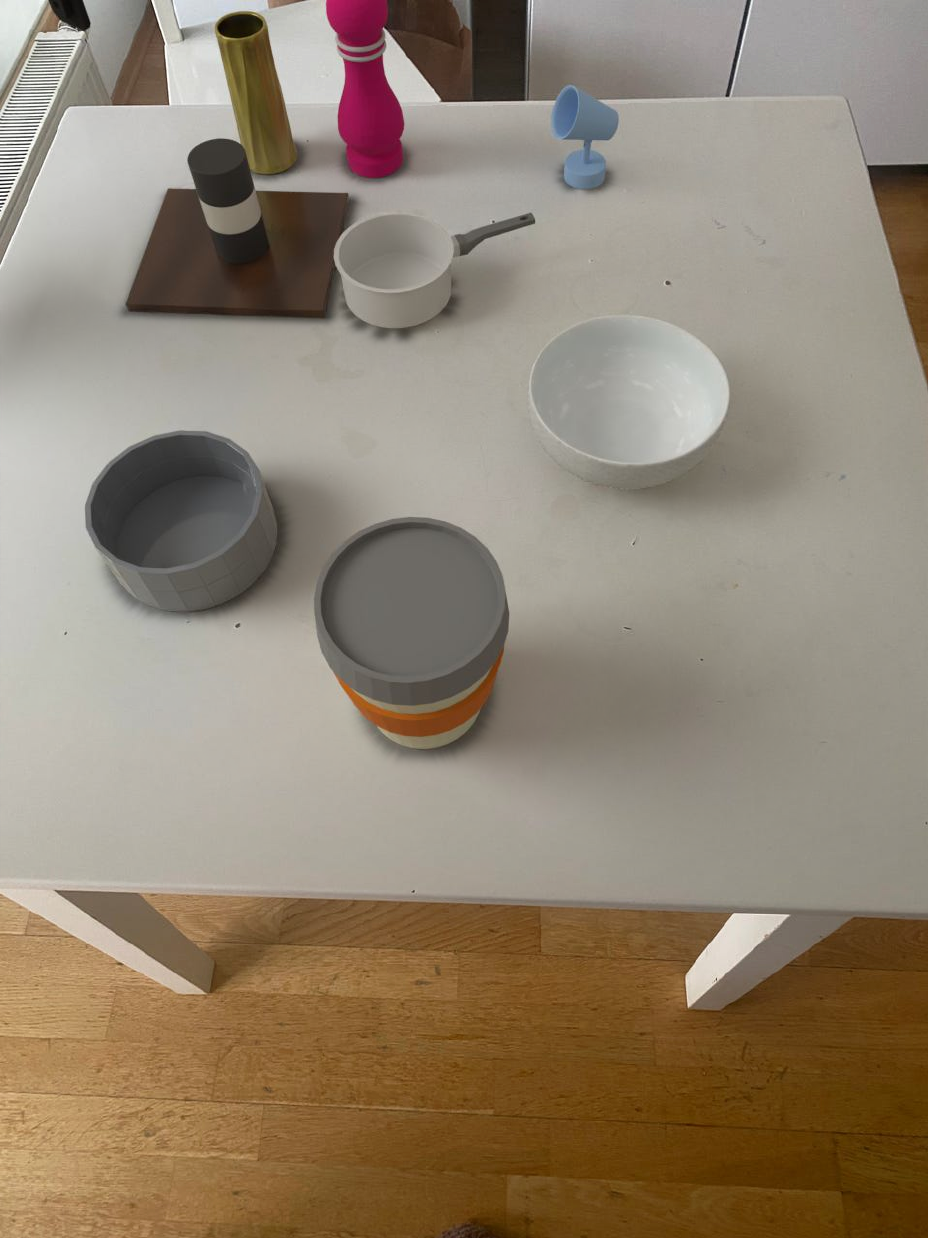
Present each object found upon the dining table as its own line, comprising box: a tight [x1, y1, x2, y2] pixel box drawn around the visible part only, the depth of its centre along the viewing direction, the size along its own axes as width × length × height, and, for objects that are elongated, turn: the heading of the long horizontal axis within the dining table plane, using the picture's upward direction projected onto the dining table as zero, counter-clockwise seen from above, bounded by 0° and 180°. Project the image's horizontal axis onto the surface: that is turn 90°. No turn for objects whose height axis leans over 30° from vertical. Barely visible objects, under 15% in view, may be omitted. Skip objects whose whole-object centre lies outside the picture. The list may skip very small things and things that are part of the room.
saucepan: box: [334, 211, 536, 329], centre depth 88 cm, size 12×20×6 cm, turn 109°
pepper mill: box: [325, 0, 405, 179], centre depth 92 cm, size 7×7×20 cm
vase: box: [214, 10, 298, 175], centre depth 95 cm, size 6×6×14 cm
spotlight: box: [550, 84, 620, 190], centre depth 94 cm, size 5×10×7 cm
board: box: [125, 187, 350, 319], centre depth 93 cm, size 20×18×1 cm
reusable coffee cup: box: [313, 516, 510, 750], centre depth 62 cm, size 13×13×15 cm
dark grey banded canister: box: [186, 137, 269, 264], centre depth 89 cm, size 6×6×10 cm
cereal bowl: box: [527, 314, 731, 490], centre depth 77 cm, size 17×17×7 cm
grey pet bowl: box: [84, 429, 278, 613], centre depth 74 cm, size 14×14×6 cm
